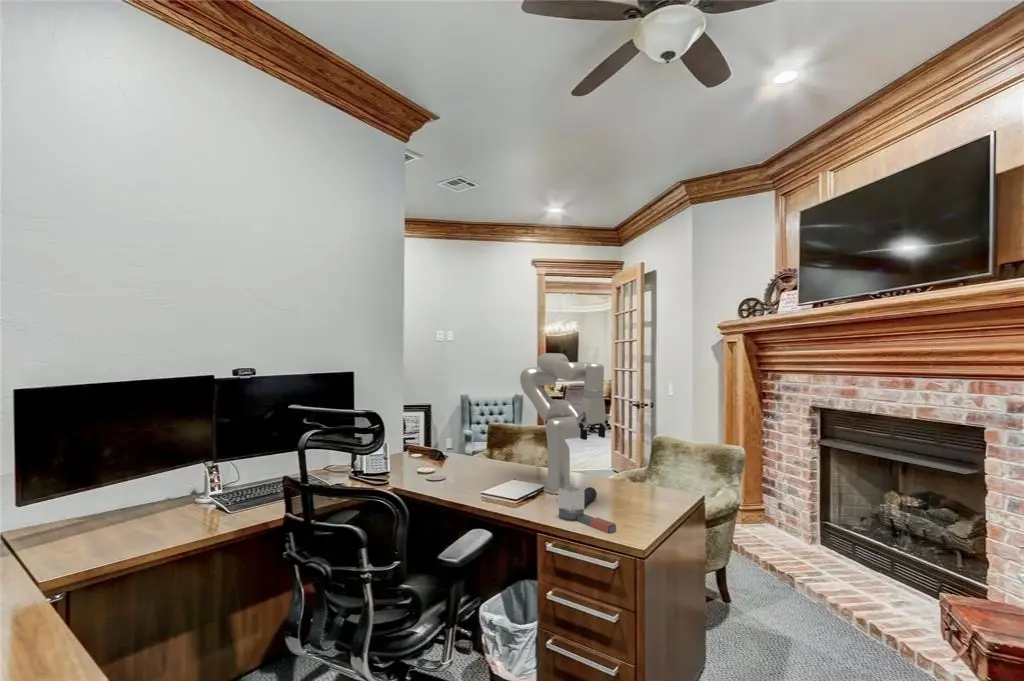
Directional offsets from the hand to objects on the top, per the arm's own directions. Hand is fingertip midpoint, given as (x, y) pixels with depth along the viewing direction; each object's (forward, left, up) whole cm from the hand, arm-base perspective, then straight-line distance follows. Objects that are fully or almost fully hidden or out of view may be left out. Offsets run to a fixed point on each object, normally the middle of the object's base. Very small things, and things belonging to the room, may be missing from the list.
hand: (592, 438), depth 191 cm
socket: (+5, -17, -23) cm, 29 cm away
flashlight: (-3, -2, -26) cm, 27 cm away
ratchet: (+13, -17, -26) cm, 34 cm away
